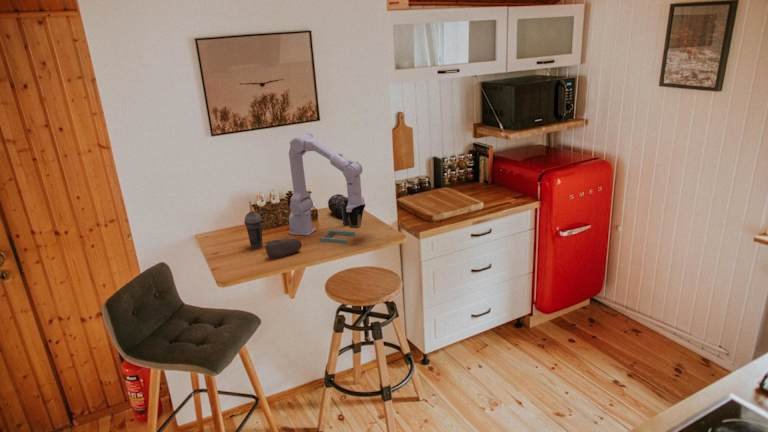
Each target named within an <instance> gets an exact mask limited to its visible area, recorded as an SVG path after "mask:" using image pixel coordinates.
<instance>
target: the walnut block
mask: <svg viewBox="0 0 768 432" xmlns="http://www.w3.org/2000/svg"><path fill="white" fill-rule="evenodd" d="M348 226H349V227H348V228H349V229H359V228H361V226H362V220H361V214H358V223H357V226H355V225H352V224H351V221H350V218H349V225H348Z"/></svg>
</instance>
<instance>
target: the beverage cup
mask: <svg viewBox="0 0 768 432" xmlns="http://www.w3.org/2000/svg"><path fill="white" fill-rule="evenodd" d="M248 203H249V207H250V211H249V212H248V213H247V214H246V215H245V216H244V225H245V228H246V231H247V235H248V240H249V243H250V246H251V249H253V250H258V249H259V250H260V249H262V248H263V226H262V225H263V219H262V215H261V214H260V213H258V212H257V211H253V210H252V209H253V208H252V202H251V201H250V200H249V202H248Z"/></svg>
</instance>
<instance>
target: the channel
mask: <svg viewBox="0 0 768 432" xmlns="http://www.w3.org/2000/svg"><path fill="white" fill-rule="evenodd" d="M334 236H351V237H354V236H355V231H346V230H345V231H344V230H330V229H329V230H328V234H326V235H325V236H324V237H319V242H321V243H323V242H324V243H325V242H326V243H333V244H334V243H336V244H347V243H348V240H347V239H346V238H333V237H334Z"/></svg>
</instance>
